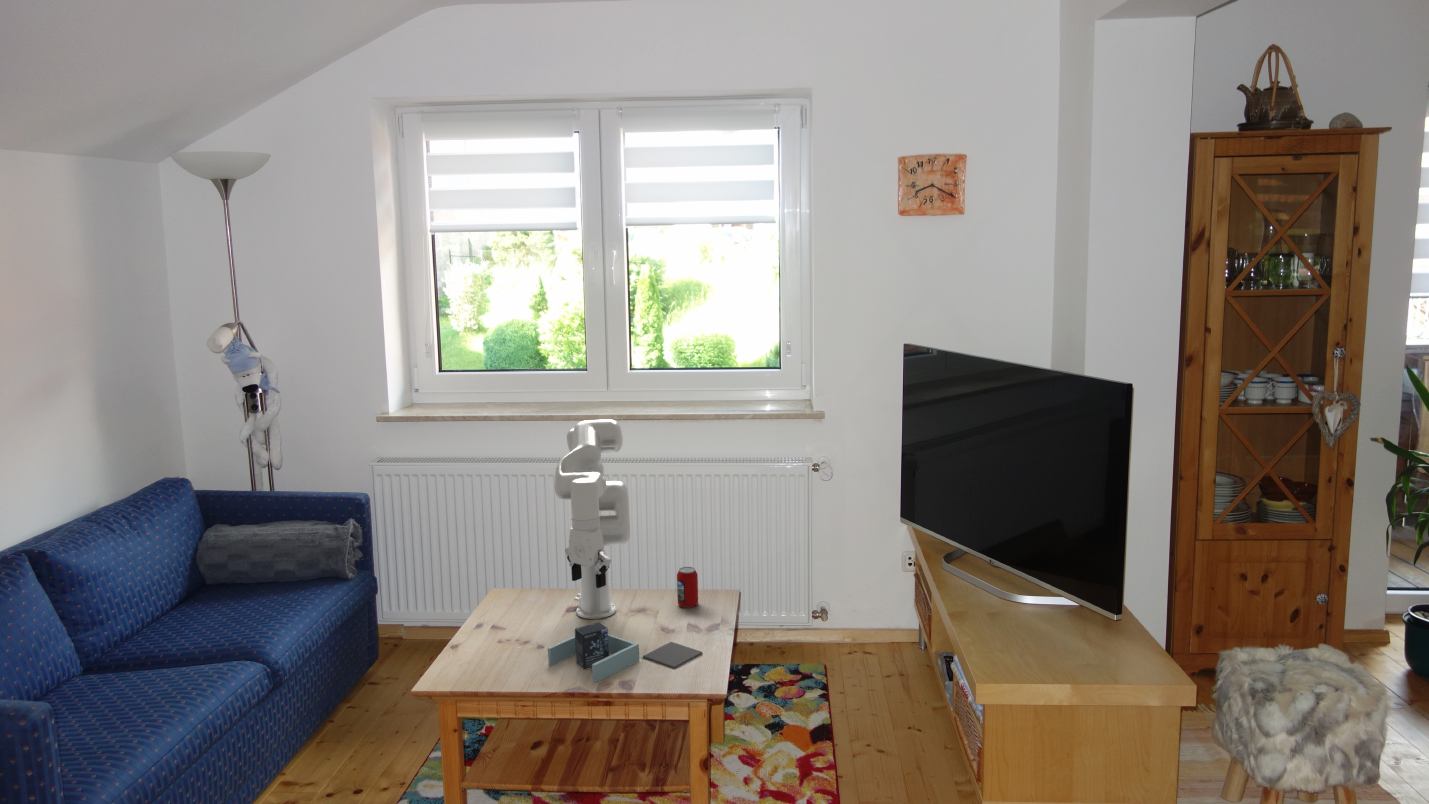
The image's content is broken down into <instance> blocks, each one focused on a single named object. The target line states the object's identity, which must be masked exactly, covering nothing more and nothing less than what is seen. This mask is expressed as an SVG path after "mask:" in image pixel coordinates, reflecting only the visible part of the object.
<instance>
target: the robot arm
mask: <svg viewBox="0 0 1429 804" xmlns="http://www.w3.org/2000/svg"><path fill="white" fill-rule="evenodd" d="M622 432H623V431H622V428H621V426H620V424H619V422H618V421H617V420H615V419H609V418H607V419H587V420H582V421H580V422H578V423H577V424H575V426H574V427H573V428H571V429H570V430H568V431H567V434H566V444H567V447H568V450H569V452H568V453H567V454H566V455H565V456H563V457H562V458H561V459H560V460H559V462H558V463H557V466H556V468H555V473H554V492H555V495H556V497H557V498H558V499H560V500H564V501H566V500H567V501H569V500H570V507H571V508H570V509H571V527H570V530H569V536H568V547H566V548H565V549H564V552H565V554H566V559H567V562H569V563H568V564H569V567H570V569H571V581H572V582H575V581H578V580H579V589H580V591H579V592H580V593H579V592H578V593H577V595H576V596H575V597H574V601H575V602H577V603H578V606H577V608H576V610H575V611H576V615H577V616H578V617H580V618H583V619H589V620H598V619H605V618H608V617H609V616H610V617H611V616H612V615H614V614H615V613H616V611H617V606H616V605H615V604H614V603H612V602H611V601H612V600H611V586H610V585H611V583H610V581H611V579H610V565H611V562H612V560H611V558H610V557H609V556H608V554H607V553H606V551H605V546H606V547H608V546H610V547H611V546H621V545H622V546H623V545H625V544H627V543H628V542H629V541H630V538H631V522H630V521H631V519H630V503H629V502H630V501H629V492H628V487H627V485H626V484H625V483H624V482H623V481H621V480H607V479H606V478H605V474H604V473H605V469H604V468H605V467H604V465H603V463H602V461H601V456H602V454H604V453H607V454H608V453H619V451H621V449H622V447H623V433H622ZM600 512H614V513H615V514H612V515H611V514H609V515H608V514H607V515H600Z"/></svg>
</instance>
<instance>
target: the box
mask: <svg viewBox="0 0 1429 804" xmlns="http://www.w3.org/2000/svg"><path fill="white" fill-rule="evenodd" d="M608 634H609V628H608V627H607V626H605V625H604V624H603V623H601V622H600V621H598V622H595V623H592V624H588V625H587V624H586V625H583V626H579V627H575V628H574V636H575V645H576V654H575V663H576V664H577V665H578V666H579V668H582V669H583V671H586V670H588V669H590V668H591V669H592V664H594V663H596V662H598V661H600V660H602V659H604V658H606V657H608V656H610V654H609V653H610V652H609V647H608Z"/></svg>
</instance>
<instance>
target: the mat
mask: <svg viewBox="0 0 1429 804" xmlns="http://www.w3.org/2000/svg"><path fill="white" fill-rule="evenodd" d="M701 655H703V651H701V650H697V649H695V648H692V647H689V646H686V645H683V644H679V643H676V642H673V641H669V642H668V643H665V644H664V645H662V646H659V647H657V648H656V649H654V650H651V651H650V652H647V653H645V654H644V655H643V656H642V659H645V660H648V661H651V662H653V663H657V664H659V665H662V666H666V667H667V668H668V667H669V668H670V669H677V668H679V667H681V666H682V665H685V664H687V663H689V662H690V661H692V660H693V659H696V658H697V657H699V656H701Z"/></svg>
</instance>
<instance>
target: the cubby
mask: <svg viewBox="0 0 1429 804" xmlns="http://www.w3.org/2000/svg"><path fill="white" fill-rule="evenodd" d="M639 645H640V643H637V642H634V641H631V640H628V639H625V638H622V637H619V636H616V635H613V634H611V633H608V647H609V653H611V654H609V656H608V657H606V658H604V659H602V660H600V661H598V662H596V663H594V664H592V668H591V670H592V671H591V672H592V683H599V682H600V681H603V680H604V679H606V678H608V677H611V676H612V675H615V674H616V673H617V672H620V671H622V670H624V669H625V668H627V667H630V666H631V665H634V664H635V663H638V662H639V661H640V646H639ZM572 656H576V645H575V635H573V636H571V637H569V638H566V639H564V640H562V641H560V642H558V643H555V644H553V645H550V646H548V647H547V660H548V665H549V666H552V665H553V666H554V665H555V664H557V663H559V662H562V661H564V660H566V659H568V658H571V657H572Z"/></svg>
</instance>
